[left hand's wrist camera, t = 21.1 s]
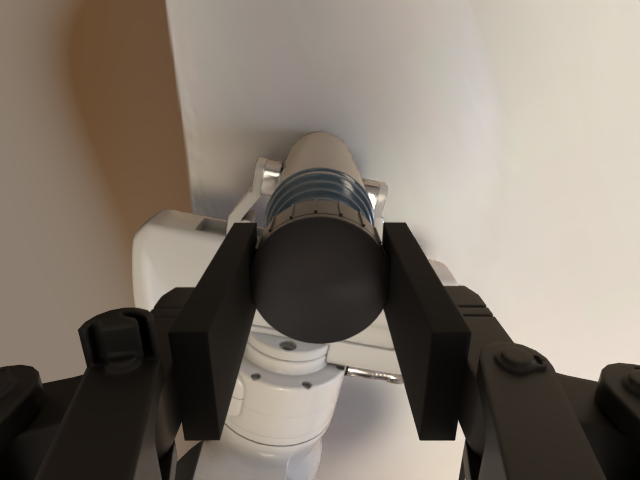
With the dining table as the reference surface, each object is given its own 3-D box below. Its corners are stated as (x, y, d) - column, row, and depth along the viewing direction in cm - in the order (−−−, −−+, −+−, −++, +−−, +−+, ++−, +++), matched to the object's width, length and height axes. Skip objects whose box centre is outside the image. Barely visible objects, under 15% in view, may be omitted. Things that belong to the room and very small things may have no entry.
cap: (263, 318, 15) (256, 349, 13) (249, 201, 14) (238, 218, 12) (383, 312, 15) (391, 342, 13) (383, 193, 13) (392, 210, 12)
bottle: (358, 189, 31) (405, 322, 14) (296, 203, 31) (267, 349, 14) (345, 124, 29) (381, 185, 12) (279, 140, 30) (224, 220, 13)
